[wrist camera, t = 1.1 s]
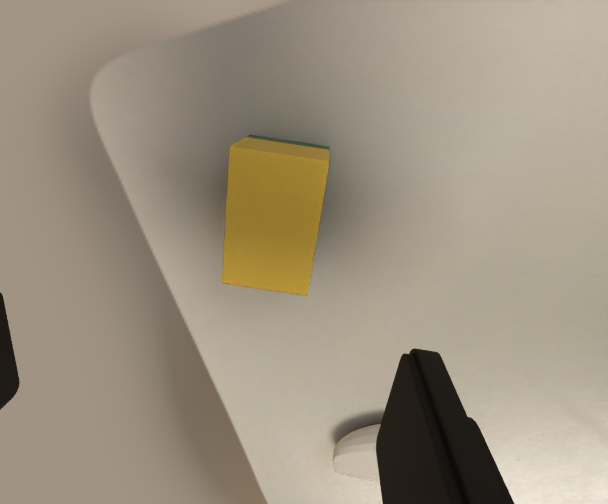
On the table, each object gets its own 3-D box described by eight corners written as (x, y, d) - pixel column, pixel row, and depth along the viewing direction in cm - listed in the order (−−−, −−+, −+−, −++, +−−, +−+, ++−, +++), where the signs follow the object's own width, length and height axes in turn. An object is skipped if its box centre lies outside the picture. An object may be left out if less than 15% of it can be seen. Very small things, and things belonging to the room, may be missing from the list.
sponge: (249, 134, 21) (229, 145, 17) (329, 146, 21) (329, 161, 17) (240, 249, 23) (221, 283, 19) (310, 260, 23) (307, 296, 19)
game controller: (319, 458, 26) (475, 463, 22) (332, 407, 30) (466, 404, 26) (370, 575, 31) (504, 595, 27) (375, 519, 35) (493, 530, 31)
